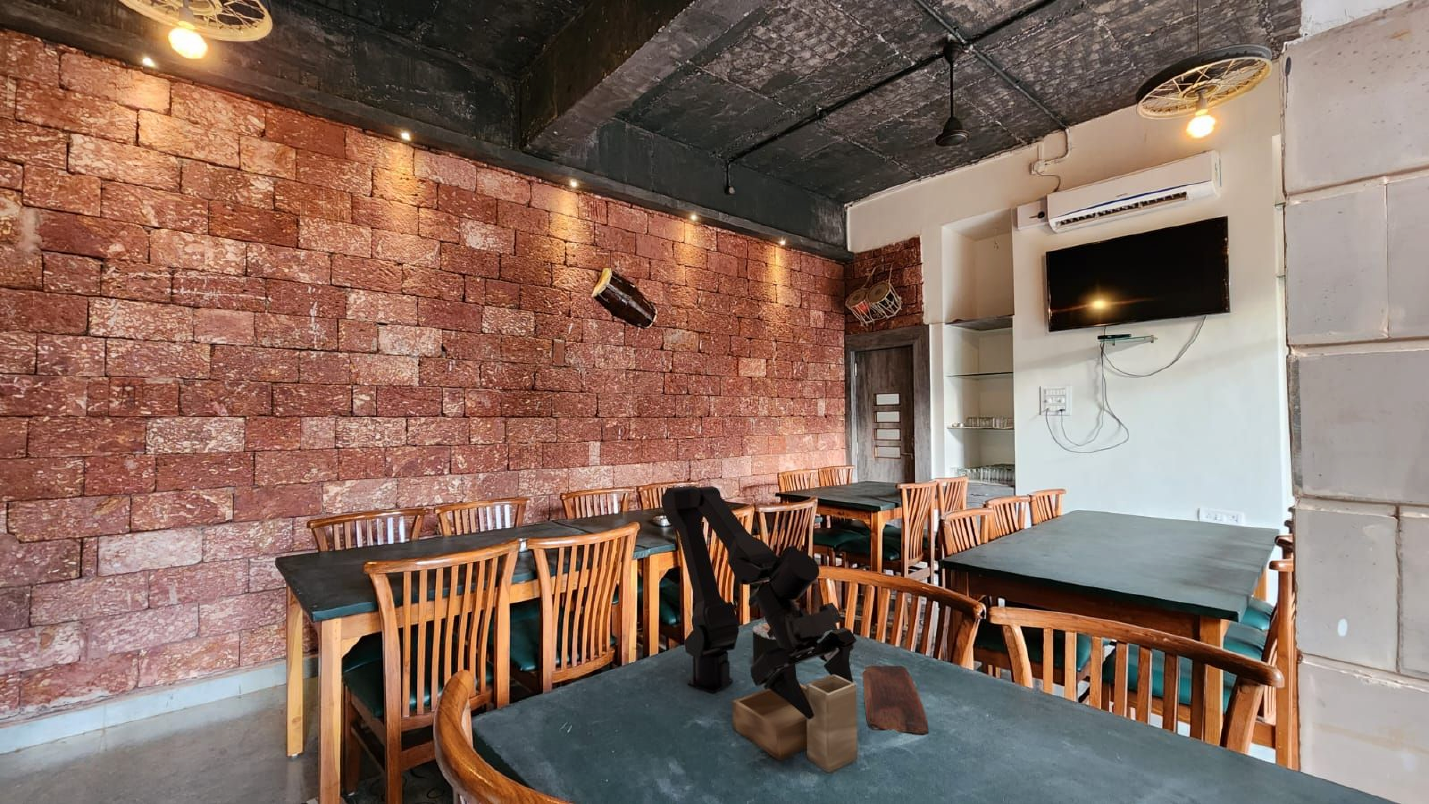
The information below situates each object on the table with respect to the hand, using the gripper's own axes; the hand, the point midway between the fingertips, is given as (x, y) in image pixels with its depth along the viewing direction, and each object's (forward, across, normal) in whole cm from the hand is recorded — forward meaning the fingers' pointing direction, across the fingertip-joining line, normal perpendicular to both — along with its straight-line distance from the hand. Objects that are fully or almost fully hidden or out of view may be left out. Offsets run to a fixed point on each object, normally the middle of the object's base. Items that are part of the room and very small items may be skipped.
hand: (833, 708), depth 88 cm
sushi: (-17, +16, +28) cm, 36 cm away
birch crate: (+5, 0, +6) cm, 8 cm away
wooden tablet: (0, +24, +12) cm, 27 cm away
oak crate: (-2, 0, +13) cm, 13 cm away
